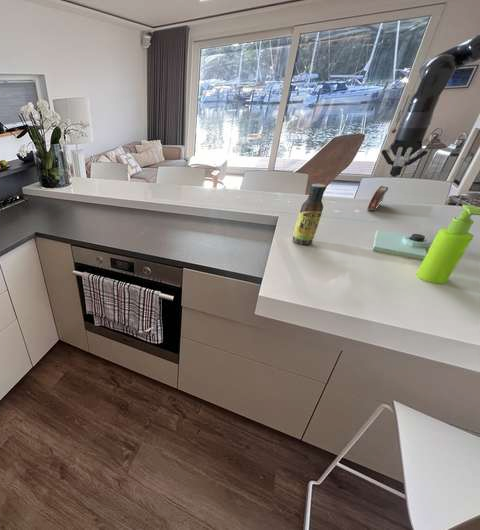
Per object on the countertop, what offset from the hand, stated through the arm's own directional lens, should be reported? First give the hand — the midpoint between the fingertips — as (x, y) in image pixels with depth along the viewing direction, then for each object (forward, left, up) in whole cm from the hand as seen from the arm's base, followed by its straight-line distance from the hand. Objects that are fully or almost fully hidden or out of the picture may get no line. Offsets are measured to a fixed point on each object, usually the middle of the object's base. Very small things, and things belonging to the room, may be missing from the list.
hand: (393, 176), depth 108 cm
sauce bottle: (+19, +42, -15) cm, 48 cm away
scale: (-6, +30, -15) cm, 34 cm away
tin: (+2, -6, -15) cm, 16 cm away
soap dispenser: (-13, +49, -15) cm, 53 cm away
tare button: (-10, +30, -12) cm, 33 cm away
